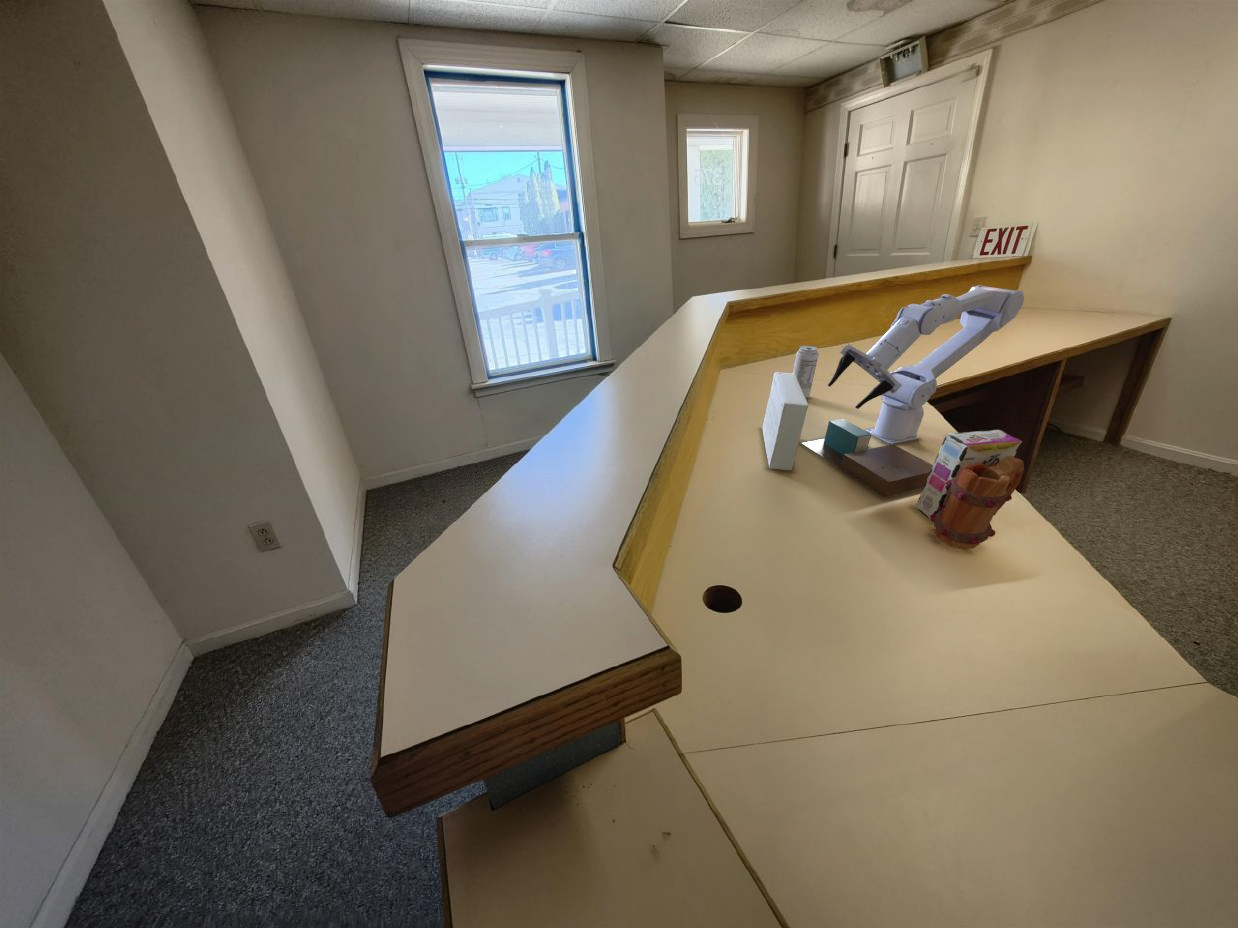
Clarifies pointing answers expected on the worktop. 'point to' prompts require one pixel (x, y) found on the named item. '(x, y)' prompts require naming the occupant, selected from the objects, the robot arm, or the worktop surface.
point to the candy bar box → (962, 463)
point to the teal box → (846, 437)
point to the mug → (976, 502)
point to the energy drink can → (805, 367)
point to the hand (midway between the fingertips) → (843, 396)
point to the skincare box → (784, 420)
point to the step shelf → (879, 467)
